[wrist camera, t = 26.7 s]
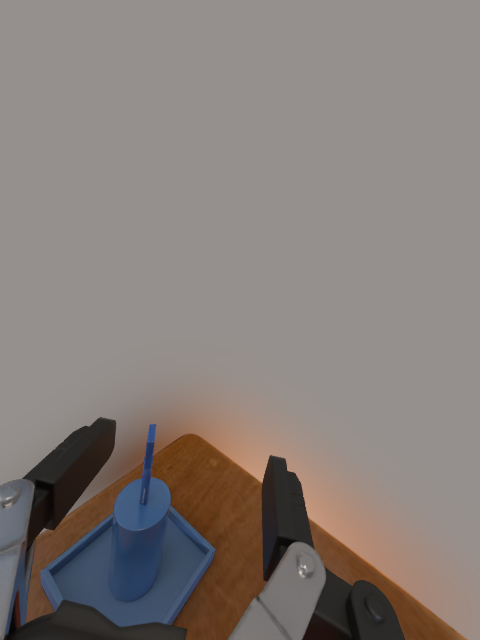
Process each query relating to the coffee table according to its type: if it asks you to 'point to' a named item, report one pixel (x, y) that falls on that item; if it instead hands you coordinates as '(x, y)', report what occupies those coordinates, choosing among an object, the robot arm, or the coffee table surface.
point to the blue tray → (93, 569)
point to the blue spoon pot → (138, 532)
